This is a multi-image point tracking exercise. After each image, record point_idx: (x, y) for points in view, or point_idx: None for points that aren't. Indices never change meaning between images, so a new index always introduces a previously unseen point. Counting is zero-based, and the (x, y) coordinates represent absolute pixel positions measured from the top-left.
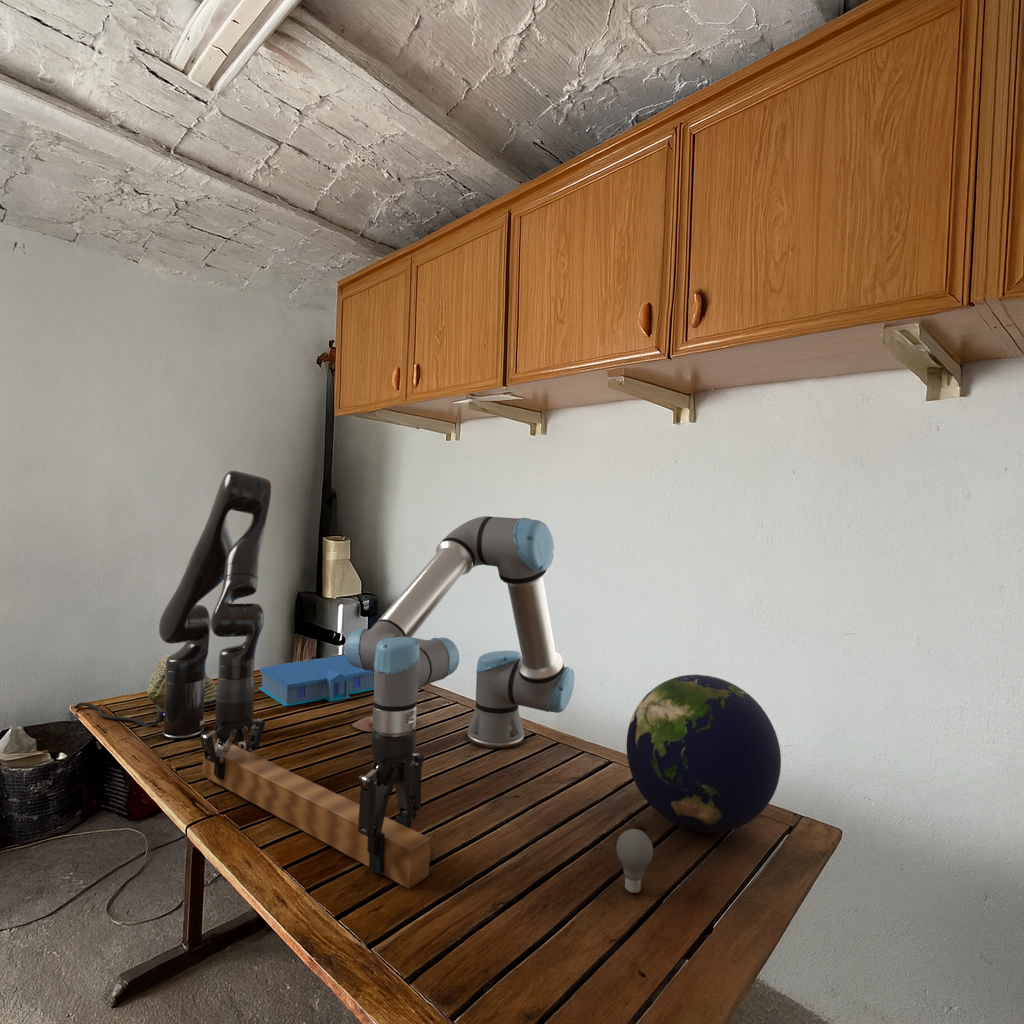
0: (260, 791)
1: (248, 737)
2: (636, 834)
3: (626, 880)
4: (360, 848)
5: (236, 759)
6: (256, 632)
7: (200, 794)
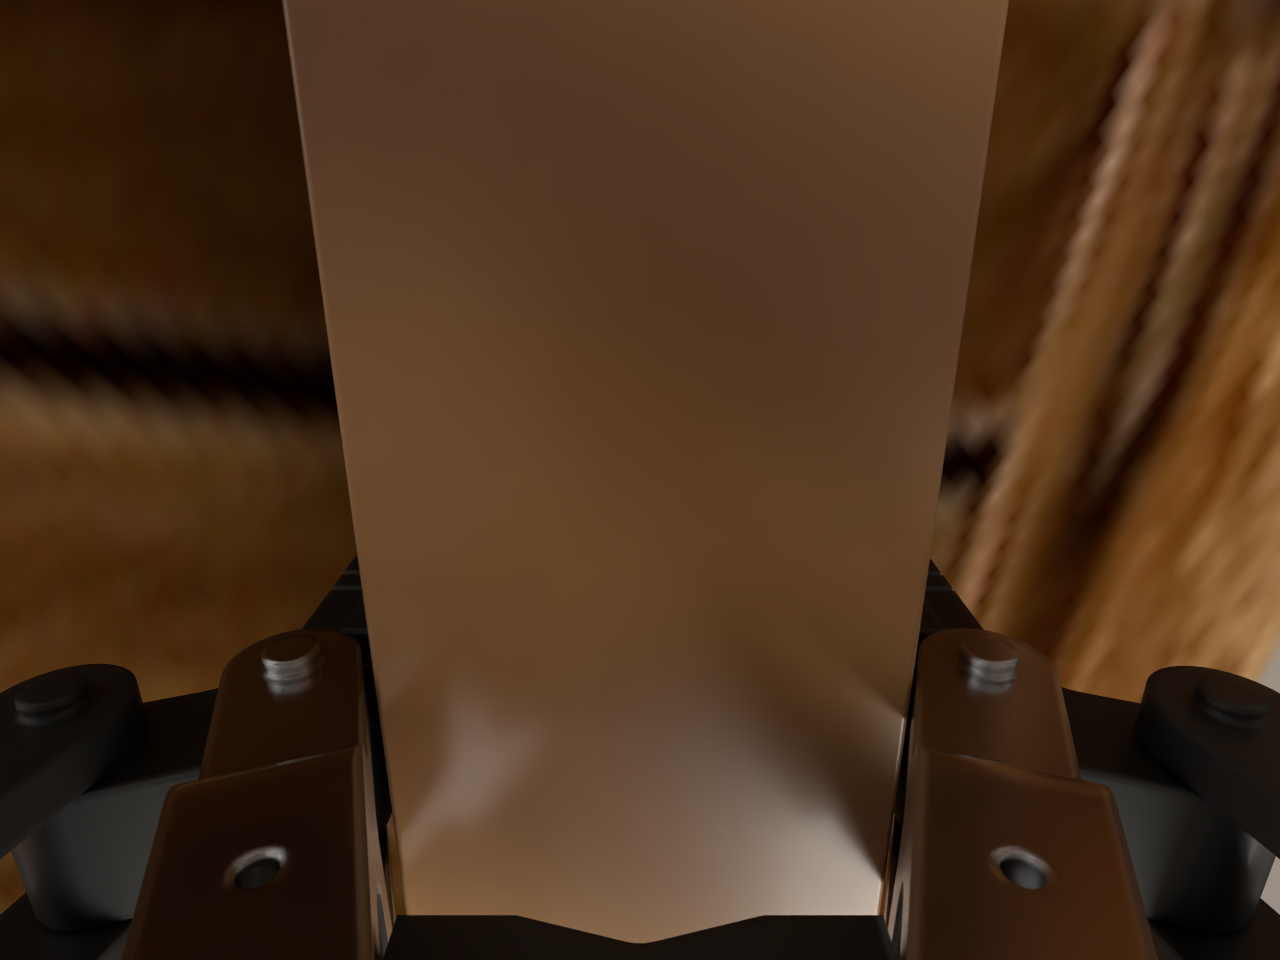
0: None
1: (170, 944)
2: None
3: None
4: None
5: (828, 416)
6: None
7: (964, 569)
